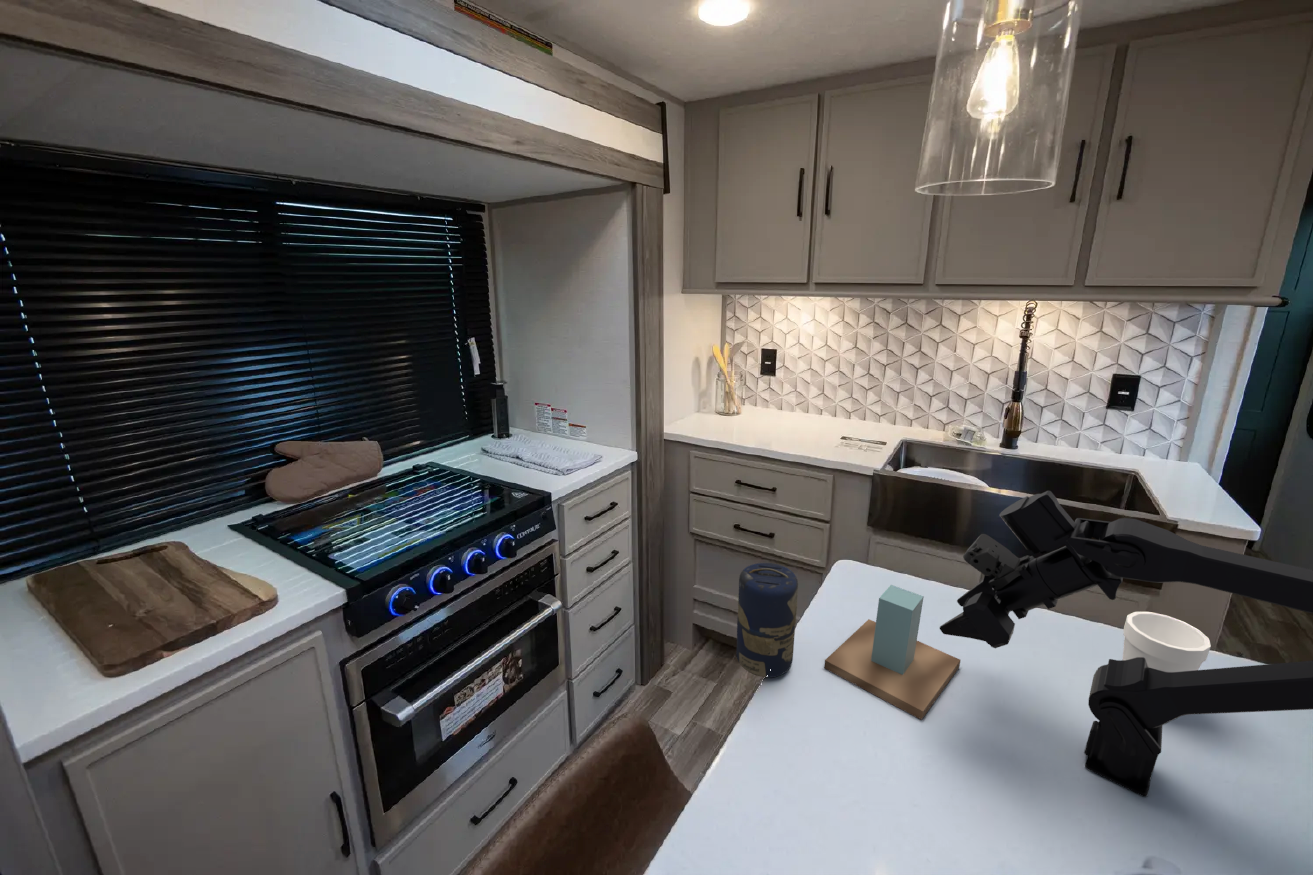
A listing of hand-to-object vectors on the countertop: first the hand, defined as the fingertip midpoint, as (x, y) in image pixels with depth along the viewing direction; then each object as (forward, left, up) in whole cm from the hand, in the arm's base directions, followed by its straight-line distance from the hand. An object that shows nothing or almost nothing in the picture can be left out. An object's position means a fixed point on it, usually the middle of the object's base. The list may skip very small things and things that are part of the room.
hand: (950, 616), depth 87 cm
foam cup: (-24, -19, -14) cm, 34 cm away
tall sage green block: (+7, +1, -12) cm, 14 cm away
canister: (+23, +15, -14) cm, 31 cm away
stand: (+7, +1, -13) cm, 15 cm away
